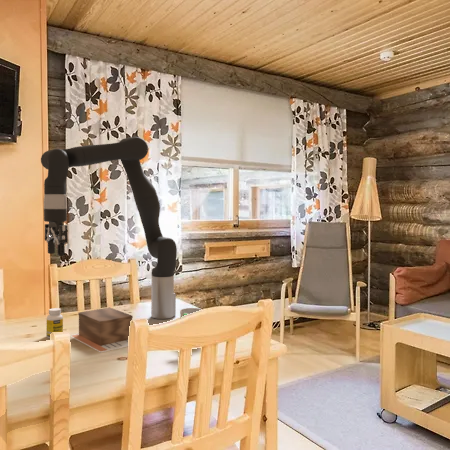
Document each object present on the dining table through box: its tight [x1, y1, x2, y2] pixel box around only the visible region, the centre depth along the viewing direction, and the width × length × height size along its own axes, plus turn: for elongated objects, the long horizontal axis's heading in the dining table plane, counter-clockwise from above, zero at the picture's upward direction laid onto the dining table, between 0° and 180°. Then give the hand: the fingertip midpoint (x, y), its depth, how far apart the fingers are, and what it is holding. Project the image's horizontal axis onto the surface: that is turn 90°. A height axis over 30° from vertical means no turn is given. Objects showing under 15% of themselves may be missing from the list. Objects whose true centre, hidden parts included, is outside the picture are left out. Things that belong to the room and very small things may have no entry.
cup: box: [179, 307, 202, 318], centre depth 156 cm, size 8×8×10 cm
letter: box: [70, 332, 129, 353], centre depth 155 cm, size 16×24×1 cm, turn 43°
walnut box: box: [78, 306, 133, 346], centre depth 157 cm, size 12×16×8 cm
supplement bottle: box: [46, 307, 64, 339], centre depth 157 cm, size 5×5×10 cm
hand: (56, 254), depth 155 cm, fingers open, 8 cm apart
